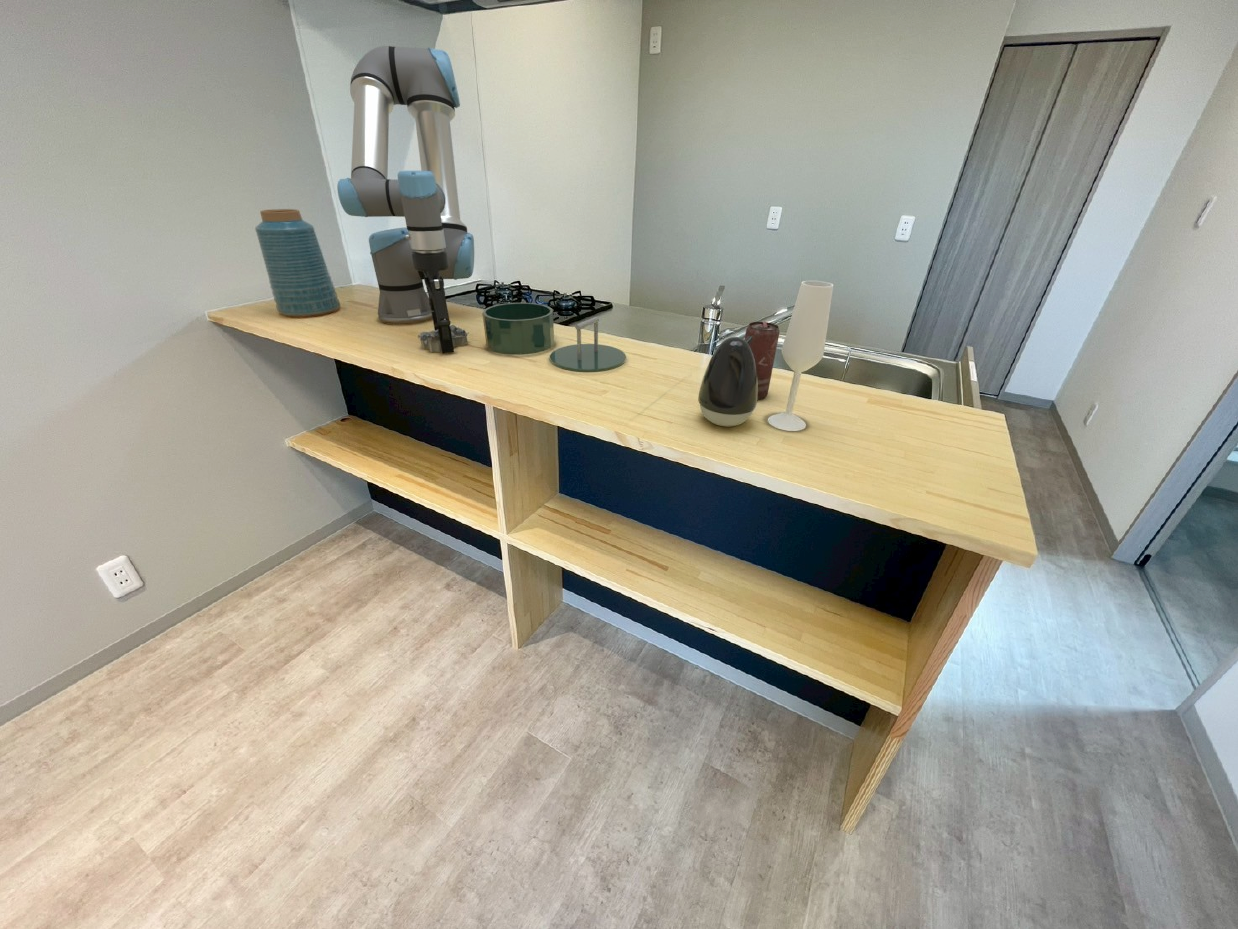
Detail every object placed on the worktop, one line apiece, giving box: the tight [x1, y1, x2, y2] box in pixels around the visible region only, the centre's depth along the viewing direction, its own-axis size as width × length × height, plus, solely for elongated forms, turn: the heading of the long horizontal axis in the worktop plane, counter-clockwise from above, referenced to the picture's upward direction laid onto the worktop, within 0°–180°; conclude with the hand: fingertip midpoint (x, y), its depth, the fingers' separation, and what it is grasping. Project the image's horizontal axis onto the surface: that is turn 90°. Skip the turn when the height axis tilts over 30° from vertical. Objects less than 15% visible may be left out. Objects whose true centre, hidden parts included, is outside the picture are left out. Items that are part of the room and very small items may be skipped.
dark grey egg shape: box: [697, 336, 758, 428], centre depth 85 cm, size 10×10×15 cm
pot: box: [481, 302, 555, 356], centre depth 120 cm, size 17×17×8 cm
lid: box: [549, 316, 627, 373], centre depth 112 cm, size 18×18×9 cm
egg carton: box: [417, 324, 470, 353], centre depth 120 cm, size 11×8×4 cm
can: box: [744, 320, 780, 401], centre depth 96 cm, size 6×6×14 cm
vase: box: [254, 208, 341, 319], centre depth 139 cm, size 16×16×27 cm
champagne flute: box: [767, 280, 835, 432], centre depth 82 cm, size 7×7×24 cm
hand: (444, 344), depth 121 cm, fingers open, 12 cm apart
